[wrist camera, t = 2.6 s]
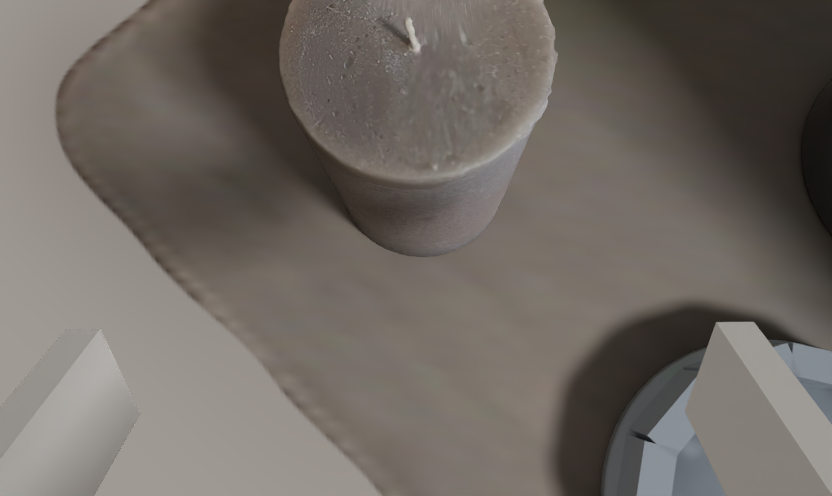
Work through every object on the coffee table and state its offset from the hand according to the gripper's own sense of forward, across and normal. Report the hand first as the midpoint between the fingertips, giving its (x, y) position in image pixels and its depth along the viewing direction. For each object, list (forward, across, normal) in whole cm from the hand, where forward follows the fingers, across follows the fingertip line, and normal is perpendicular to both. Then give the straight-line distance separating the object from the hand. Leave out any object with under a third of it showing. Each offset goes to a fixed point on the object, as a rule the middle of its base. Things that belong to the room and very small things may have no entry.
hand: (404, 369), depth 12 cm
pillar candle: (+20, 0, -5) cm, 21 cm away
